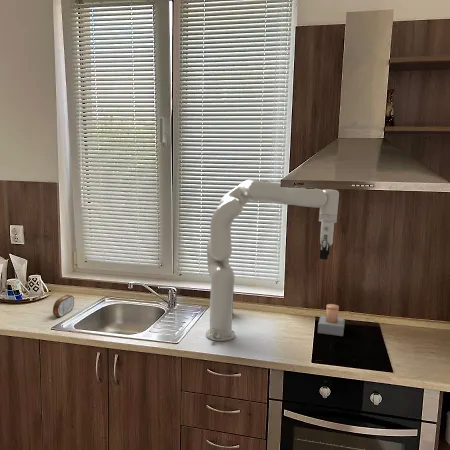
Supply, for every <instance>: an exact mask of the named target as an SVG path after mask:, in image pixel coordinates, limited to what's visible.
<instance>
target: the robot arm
mask: <svg viewBox="0 0 450 450" xmlns="http://www.w3.org/2000/svg"><path fill="white" fill-rule="evenodd" d="M306 188H307V187H301V188H283V187H280V182H270V181H262V180H254V179H246V180H244V181H243V182H241V183H240V184H238V186H235V188H233V189H232V190H231V191H229V192H227V193H226V194H225V195H224V196H223V197H222V198H220V200H219V203H218V207H217V208H216V209H215V210H214V212H213V213H212V215H211V218H210V225H209V227H210V235H209V236H210V238H209V239H208V241H207V245H206V256H207V257H206V260H207V272H208V275H209V277H210V279H211V280H210V281H211V282H210V283H211V285H210V295H209V296H210V297H209V299H210V300H209V301H210V302H209V304H210V306H209V307H210V308H209V309H210V310H209V329H207V330H206V331H205V337H206V338H208V339H209V340H211V341H212V340H213V341H216V342H227V341H231V340H233V339H234V338H235V337H236V333H235V331H234V330H233V313H232V307H233V308H234V291H233V287H234V286H235V273H234V270H233V268H232V267H231V266H230V262H229V260H230V259H229V258H230V257H231V256H232V250H233V249H232V248H233V247H232V237H231V236H232V235H231V234H232V232H231V230H232V223H233V221H234V220H236V218H238V217H239V216H240V215H241V214H242V212H243V210H244V209H243V208H244V207H243V206H245V205H246V204H247V203H249V202H250V201H253V202H260V203H261V202H262V203H270V204H280V205H288V206H289V205H291V206H299V207H307V208H316V209H317V208H319V215H318V222H321V225H320V235H319V237H320V239H319V241H320V243H319V244H320V245H321V246H320V250H319V252H320V253H319V259H320V260H328V257H329V255H330V247H331V246H332V245H333V243H334V233H335V232H334V231H335V224H336V223H337V222H338V221H337V220H338V219H337V218H338V209H339V200H340V199H339V198H340V191H338V190H337V189H328V188H326V189H320V188H315V189H306ZM234 288H235V287H234Z"/></svg>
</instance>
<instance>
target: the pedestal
mask: <svg viewBox="0 0 450 450" xmlns="http://www.w3.org/2000/svg"><path fill="white" fill-rule="evenodd" d="M345 322H346V320H345V318H340V317H338V322H337V323H328V322H326V315H325V316H324V315H320V316H319V320H318V324H317V334H324V335H330V336H339V337H344V330H345Z"/></svg>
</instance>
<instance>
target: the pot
mask: <svg viewBox="0 0 450 450" xmlns="http://www.w3.org/2000/svg"><path fill="white" fill-rule="evenodd" d="M339 308H340V307H339V305H338V304H335V303H334V304H333V303H329V304H326V309H325V311H326V312H325V316H326V322H328V323H337V322H338V318H339V310H340V309H339Z"/></svg>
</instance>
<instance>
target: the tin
mask: <svg viewBox="0 0 450 450" xmlns="http://www.w3.org/2000/svg"><path fill="white" fill-rule="evenodd" d="M74 306H75V297H74V295H71V294H65V295H63V296H61V297H60V298H57V299H56V301H54V304H53V305H52V313H53V316H54V317H58V318H62V317H63V316H65V315H67V314H68V313H70V312H72V310H73V309H74Z"/></svg>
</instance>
